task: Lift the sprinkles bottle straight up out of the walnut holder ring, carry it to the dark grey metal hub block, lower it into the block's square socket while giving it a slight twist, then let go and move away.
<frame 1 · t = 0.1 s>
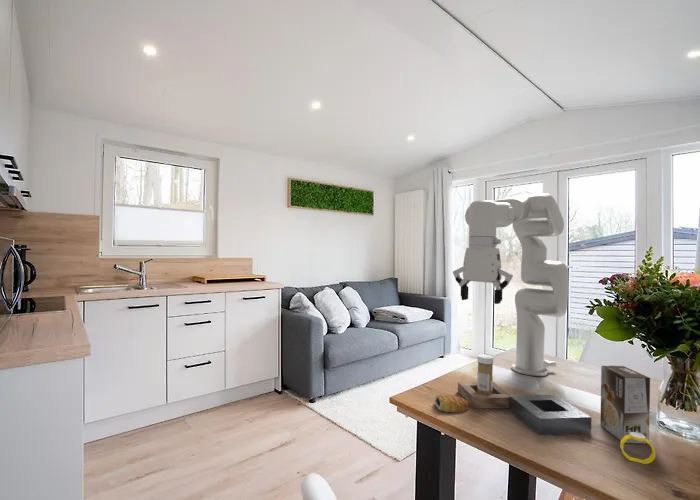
hand: (480, 301, 104), 31 cm above the table, tool pointing down, fingers open, 9 cm apart
pastry: (449, 408, 104), on the table
holder ring: (484, 399, 110), on the table
sprinkles bottle: (484, 399, 110), resting in holder ring
hub block: (547, 420, 97), on the table
watch: (637, 462, 79), on the table
coffee box: (623, 434, 91), on the table
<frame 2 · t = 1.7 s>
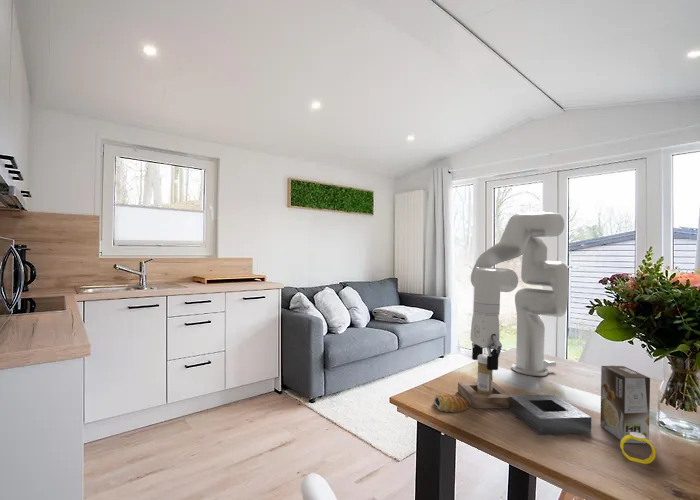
hand: (484, 364, 109), 11 cm above the table, tool pointing down, fingers open, 9 cm apart
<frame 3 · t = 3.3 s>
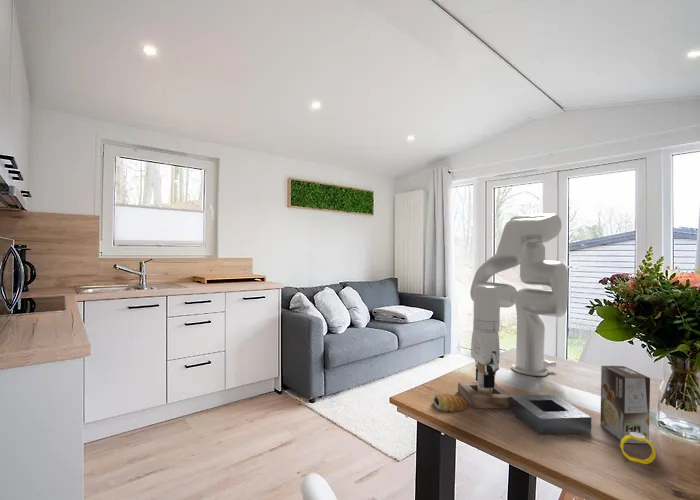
hand: (484, 383, 110), 5 cm above the table, tool pointing down, fingers closed on sprinkles bottle, 4 cm apart
sprinkles bottle: (484, 399, 110), resting in holder ring, touching gripper
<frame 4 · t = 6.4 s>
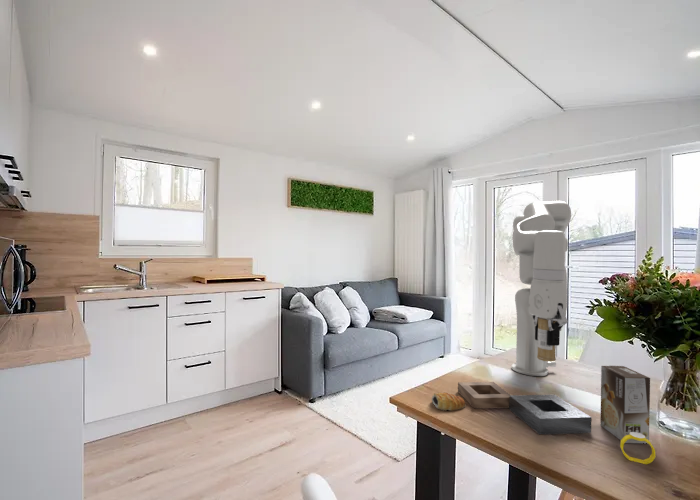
hand: (546, 341, 97), 21 cm above the table, tool pointing down, fingers closed on sprinkles bottle, 4 cm apart
sprinkles bottle: (546, 360, 97), point 16 cm above the table, touching gripper
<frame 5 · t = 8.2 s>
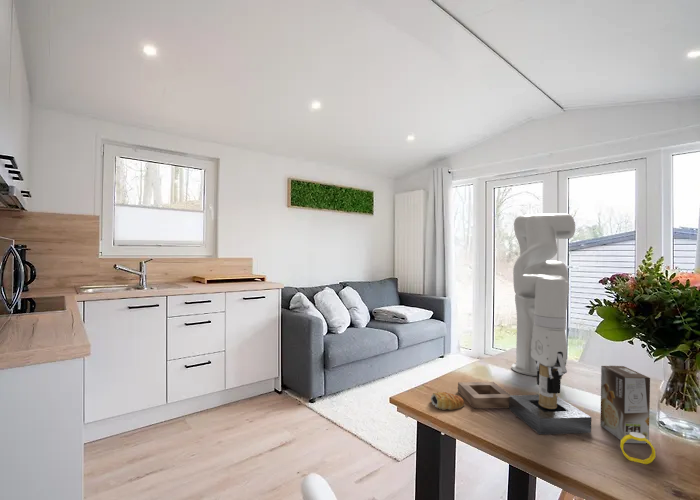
hand: (548, 388, 97), 9 cm above the table, tool pointing down, fingers closed on sprinkles bottle, 4 cm apart
sprinkles bottle: (547, 406, 97), point 4 cm above the table, touching gripper
when the fingers open (6 cm above the table, at t = 9.8 s): sprinkles bottle stays where it is, resting in hub block.
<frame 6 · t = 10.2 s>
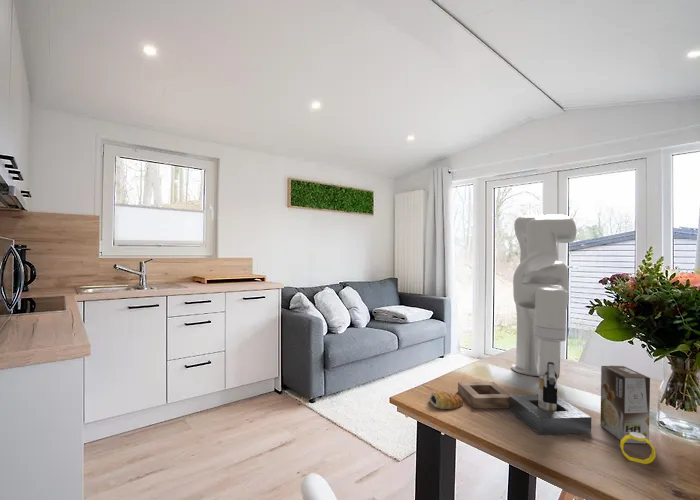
hand: (548, 395, 97), 7 cm above the table, tool pointing down, fingers open, 8 cm apart
sprinkles bottle: (547, 420, 97), resting in hub block
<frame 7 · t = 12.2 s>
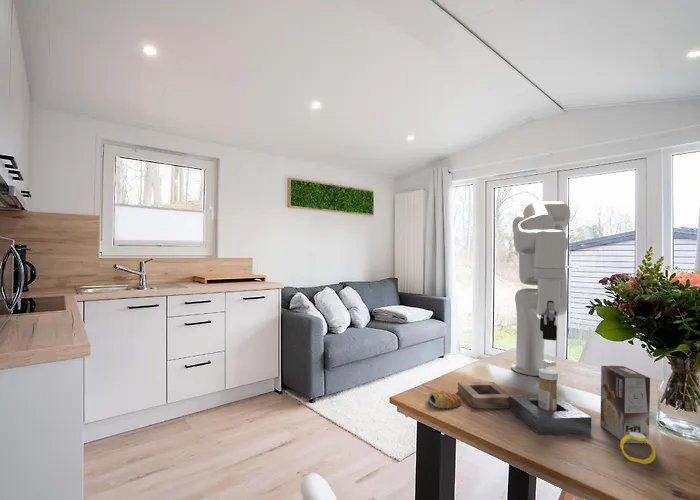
hand: (547, 335, 100), 23 cm above the table, tool pointing down, fingers open, 9 cm apart
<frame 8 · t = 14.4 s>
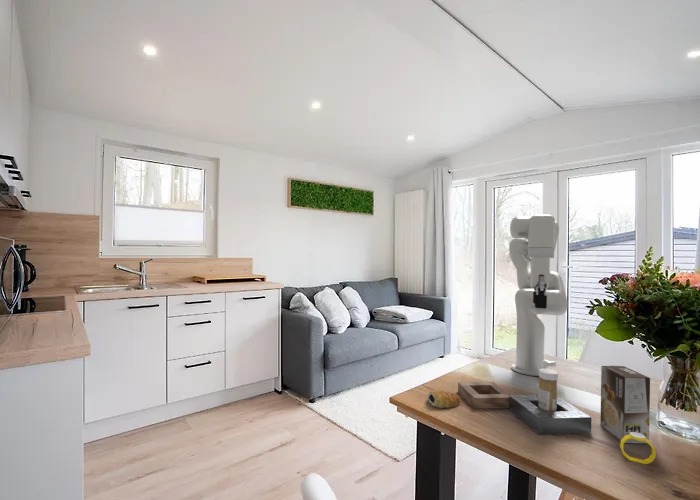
hand: (539, 305, 116), 28 cm above the table, tool pointing down, fingers open, 9 cm apart
at the end: sprinkles bottle 0.4 cm off-centre on the hub block, point 0.0 cm above the hub block's base; sprinkles bottle tilted 0°; the gripper is holding nothing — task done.
